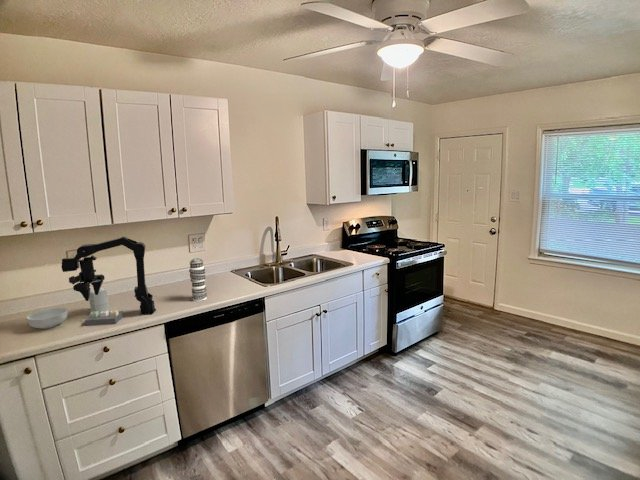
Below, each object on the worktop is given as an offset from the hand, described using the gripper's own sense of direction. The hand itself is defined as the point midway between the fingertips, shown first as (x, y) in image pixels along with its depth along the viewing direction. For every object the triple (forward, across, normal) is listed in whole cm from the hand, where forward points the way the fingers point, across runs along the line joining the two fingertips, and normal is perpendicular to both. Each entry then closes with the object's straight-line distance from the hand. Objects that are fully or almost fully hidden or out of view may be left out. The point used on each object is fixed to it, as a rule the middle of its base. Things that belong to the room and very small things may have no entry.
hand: (92, 297), depth 188 cm
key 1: (+11, +1, 0) cm, 11 cm away
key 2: (+11, +1, +10) cm, 15 cm away
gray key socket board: (+13, +1, +5) cm, 14 cm away
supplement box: (+13, -14, -5) cm, 20 cm away
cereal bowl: (+13, +3, -22) cm, 25 cm away
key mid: (+11, +1, +5) cm, 12 cm away
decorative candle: (+14, -27, +48) cm, 56 cm away
